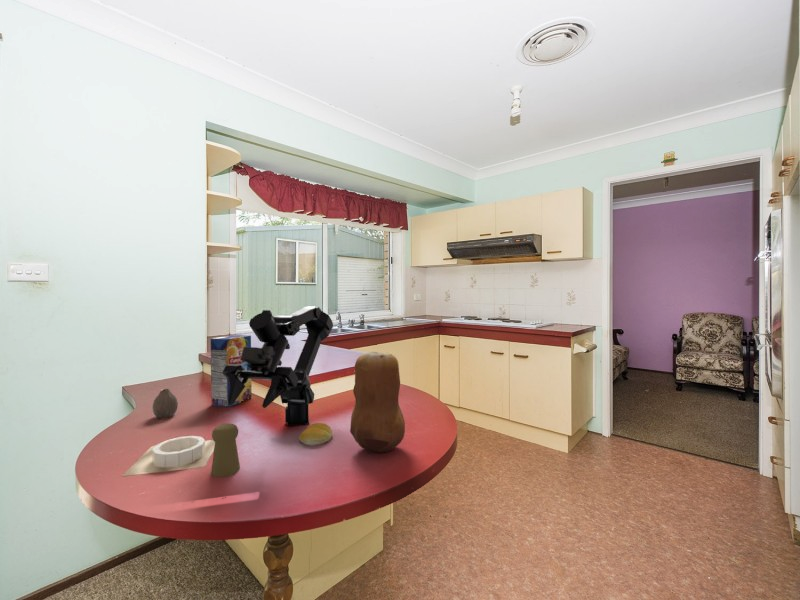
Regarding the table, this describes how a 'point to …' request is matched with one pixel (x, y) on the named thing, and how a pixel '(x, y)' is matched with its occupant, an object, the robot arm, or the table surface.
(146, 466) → the oak board
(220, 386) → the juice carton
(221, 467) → the cork
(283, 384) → the robot arm
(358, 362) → the butternut squash
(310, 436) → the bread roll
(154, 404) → the brown fig
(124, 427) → the table surface
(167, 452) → the cream collar
